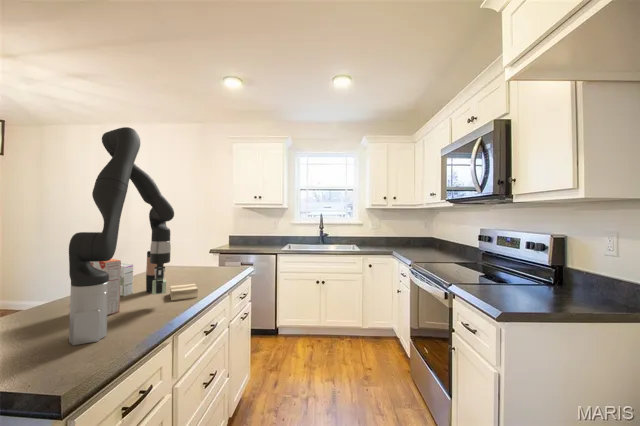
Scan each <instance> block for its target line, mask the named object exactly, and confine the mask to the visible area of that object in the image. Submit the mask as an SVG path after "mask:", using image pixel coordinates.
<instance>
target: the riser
mask: <svg viewBox="0 0 640 426" xmlns="http://www.w3.org/2000/svg"><path fill="white" fill-rule="evenodd" d="M198 294H199V291H198V287H197V285H196V283H187V284H186V283H185V284H177V285H174V284H173V285H170V287H169V295H170V296H169V297H170V300H171V301H178V300H186V299H193V298H194V299H196V298H198V296H199V295H198Z"/></svg>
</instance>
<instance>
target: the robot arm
mask: <svg viewBox="0 0 640 426" xmlns="http://www.w3.org/2000/svg"><path fill="white" fill-rule="evenodd" d="M101 143H102V146H103V147H104V149H105V150H106V151H107V154H109V155H110V157H111V159H110V160H109V161H108V162H107V164H106V165H105V166H104V167H103V168H102V169H101V171H100V172H99V174H98V175H97V177H96V178H95V179H96V180H95V183H94V186H93V188H92V195H91V196H92V199H93V202H94V204H95V206H96V207H97V208H98V210H99V212H100V214H101V216H102V220H103V227H102V228H103V229H102V231H101V232H99V231H96V232H95V231H94V232H93V231H92V232H91V231H90V232H89V231H82V232H76V233H74V234H73V235H72V236H71V238H70V241H69V244H68V265H69V268H68V269H69V270H68V273H69V278H70V293H69V295H70V296H69V297H70V299H69V320H68V321H69V324H68V330H69V331H68V344H71V346H77V345H83V344H90V343H96V342H99V341H100V340H102V339H103V338H105V337H107V335H108V317H109V315H108V286H109V274H108V273H107V272H105V271H102V270H99V269H97V268H95V267H93V266H92V265H91V264H90V262H97V261H109V260H110V259H113V257H114V255H115V254H116V250H117V246H118V245H117V243H118V238H119V230H120V229H119V228H120V223H121V216H122V212H123V208H124V204H125V202H126V197H127V193H128V188H129V183H130V181H131V182H132V184H133V185H134V187H135V188H136V190H137V192H138V194H139V195H140V197H141V198H142V201H144V203H146V204H148V205H150V206H151V208H150V209H149V210H150V211H149V212H148V213H149V214H148V218H149V224H150V230H151V239H150V240H151V242H150V248H149V249H150V250H149V251H150V263H151V264H157V266H156V267H155V270H154V272H155V279H156V293H157V294H156V295H159V294H158V293H162V284H163V279H165V272H166V266H164V267H163V264H164V265H165V264H168V263H170V262H171V249H172V248H171V229H170V228H169V227H168V226H167V222H170V221H173V219H174V217H175V210H174V208H173V206H172V205H171V204H170V202H169V201H168V200H167V199H166V197H164V195H163V194H162V193H161V191H160V189H159V187H158V185H157V183H156V182H155V181H154V179H153V178H152V176H150V175H149V174H148V173H147V172H146V171H145V170H143V169H142V168H141V167H139V166H138V165H137V164H136V163H135V161H136V159H137V156H138V153H139V152H140V148H141V137H140V135H139V133H138V132H137V131H136V130H135V129H134V128H131V127H129V126H127V127H126V126H123V127H119V128H116V129H112V130H109V131H107V132H104V133H103V134H102V136H101ZM157 280H162V281H157Z"/></svg>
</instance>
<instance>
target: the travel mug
mask: <svg viewBox="0 0 640 426" xmlns="http://www.w3.org/2000/svg"><path fill="white" fill-rule="evenodd" d="M156 266H157V264H151V263H150V250H148V251H147V252H146V270H145V272H146V273H145V274H146V275H145V287H146V288H145V291H146V293H148V294H149V293H151V294H152V282H153V280H156V279H155V272H154V270H155V267H156ZM163 267H165V263H164V264H163Z"/></svg>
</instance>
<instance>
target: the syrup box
mask: <svg viewBox="0 0 640 426" xmlns="http://www.w3.org/2000/svg"><path fill="white" fill-rule="evenodd" d="M133 289H134V263H121V272H120V297H127V296H129V295H131V294H133V291H134V290H133Z"/></svg>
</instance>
